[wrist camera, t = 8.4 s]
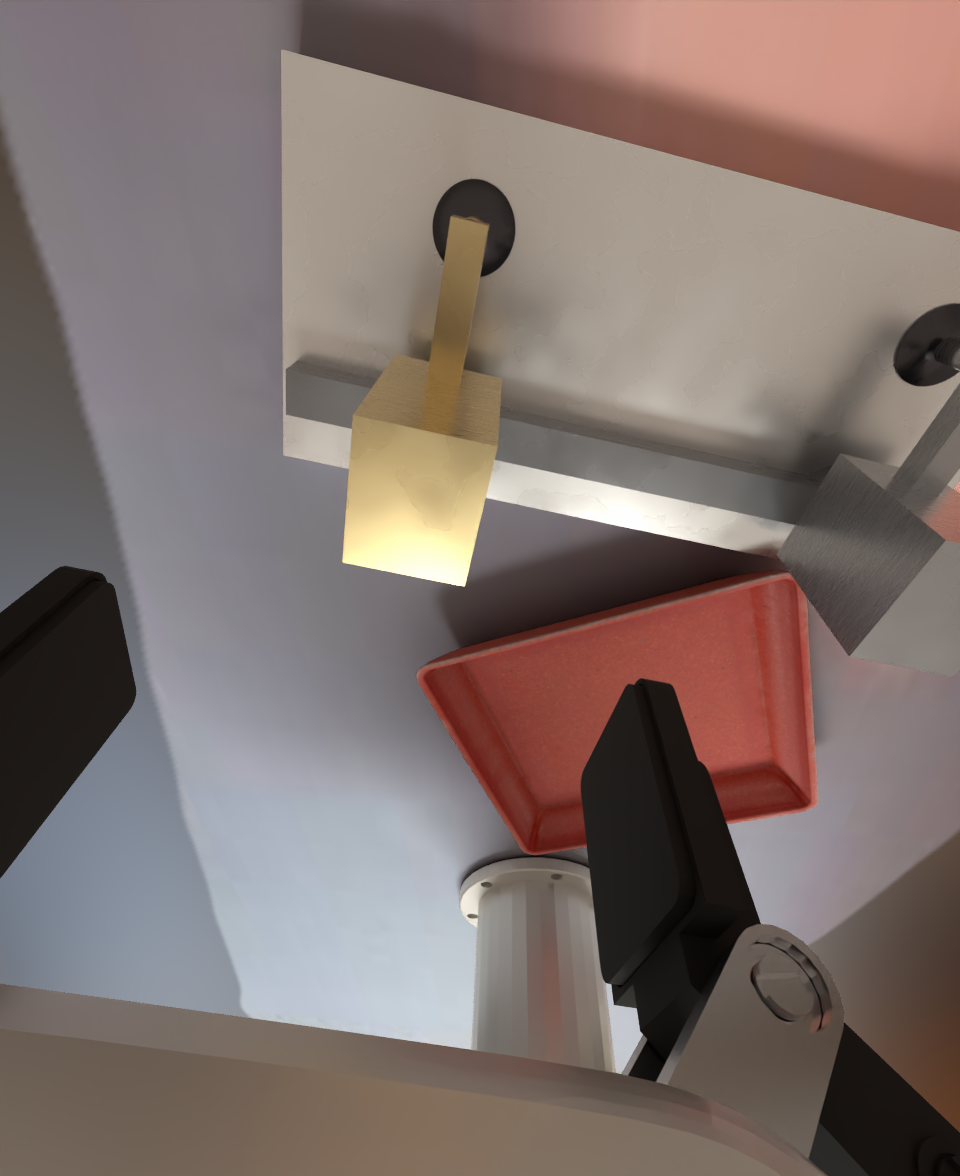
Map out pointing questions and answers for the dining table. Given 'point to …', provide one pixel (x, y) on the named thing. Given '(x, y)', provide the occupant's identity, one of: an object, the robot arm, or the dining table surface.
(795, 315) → the hole plate
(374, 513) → the tan stemmed block
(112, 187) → the dining table surface
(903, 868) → the dining table surface
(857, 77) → the dining table surface
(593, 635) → the plant saucer
